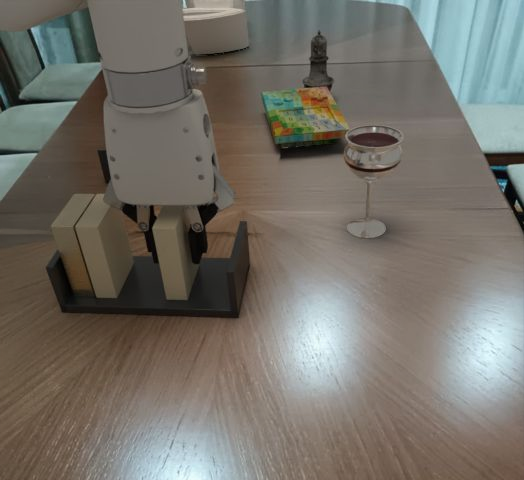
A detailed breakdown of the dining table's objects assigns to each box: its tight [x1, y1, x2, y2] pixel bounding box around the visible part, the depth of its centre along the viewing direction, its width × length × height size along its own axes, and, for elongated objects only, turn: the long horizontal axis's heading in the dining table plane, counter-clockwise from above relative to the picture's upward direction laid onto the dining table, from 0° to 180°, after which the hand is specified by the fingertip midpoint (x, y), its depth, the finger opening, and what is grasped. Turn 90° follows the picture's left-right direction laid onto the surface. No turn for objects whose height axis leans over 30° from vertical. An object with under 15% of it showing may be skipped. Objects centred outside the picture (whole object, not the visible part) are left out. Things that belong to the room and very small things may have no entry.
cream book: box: [152, 205, 199, 300], centre depth 62 cm, size 2×7×9 cm, turn 174°
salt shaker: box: [301, 29, 335, 93], centre depth 104 cm, size 6×6×12 cm
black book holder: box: [45, 193, 251, 319], centre depth 63 cm, size 20×10×10 cm, turn 84°
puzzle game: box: [260, 86, 351, 149], centre depth 96 cm, size 12×5×20 cm
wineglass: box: [343, 124, 405, 239], centre depth 70 cm, size 7×7×12 cm
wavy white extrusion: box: [183, 0, 250, 55], centre depth 139 cm, size 35×16×11 cm, turn 1°
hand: (179, 255), depth 63 cm, fingers open, 3 cm apart
